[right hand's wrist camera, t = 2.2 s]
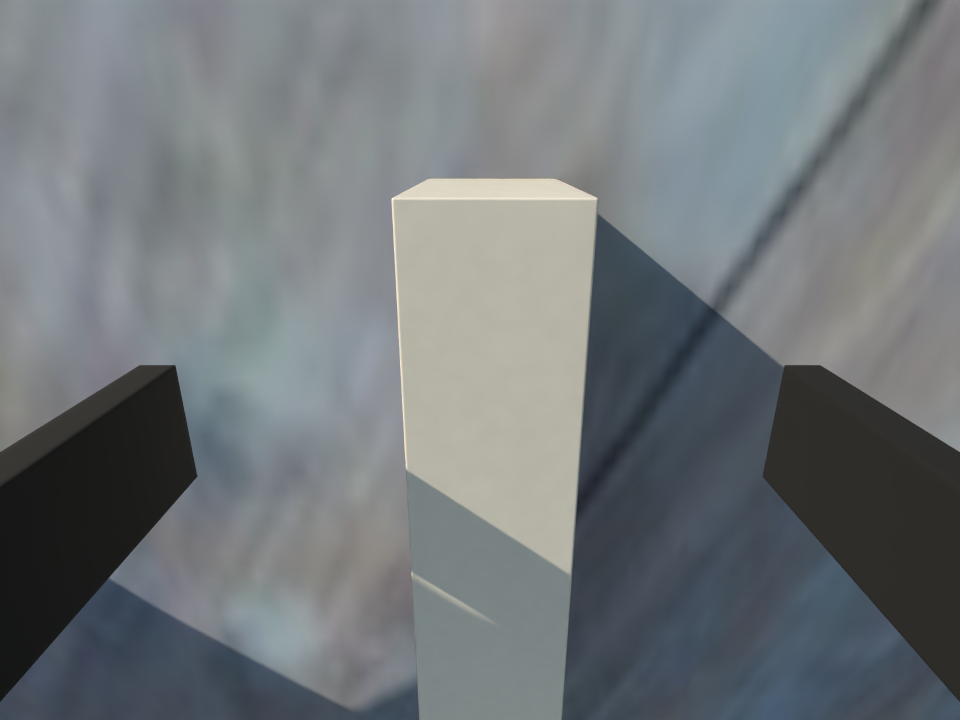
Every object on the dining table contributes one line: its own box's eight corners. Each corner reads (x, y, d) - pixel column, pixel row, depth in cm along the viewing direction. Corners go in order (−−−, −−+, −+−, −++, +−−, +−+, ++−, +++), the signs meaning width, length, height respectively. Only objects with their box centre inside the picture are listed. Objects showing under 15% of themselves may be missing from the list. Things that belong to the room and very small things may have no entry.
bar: (427, 178, 20) (391, 197, 12) (556, 178, 20) (599, 197, 12) (446, 771, 30) (432, 975, 23) (530, 772, 30) (543, 977, 23)
